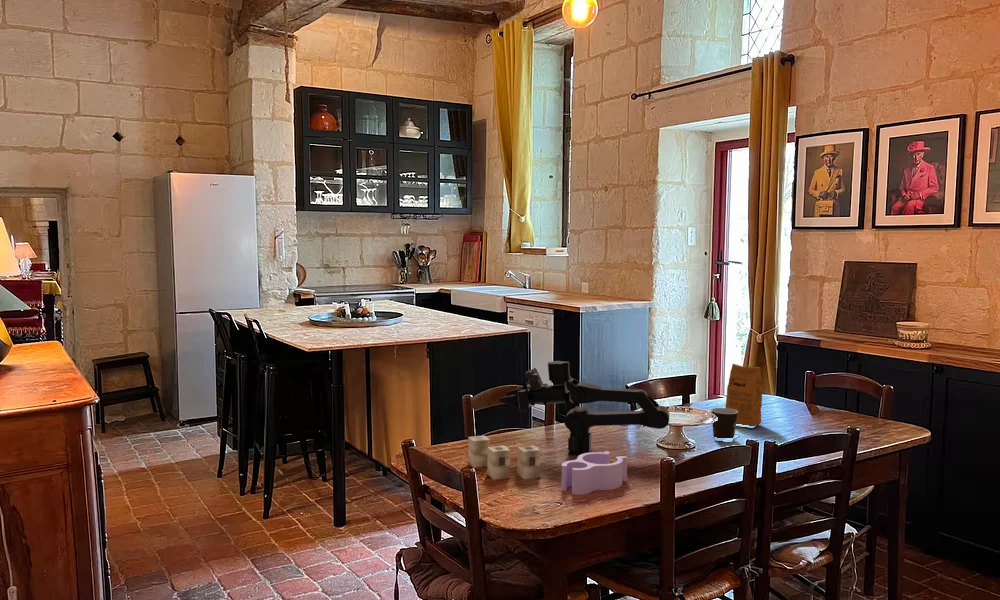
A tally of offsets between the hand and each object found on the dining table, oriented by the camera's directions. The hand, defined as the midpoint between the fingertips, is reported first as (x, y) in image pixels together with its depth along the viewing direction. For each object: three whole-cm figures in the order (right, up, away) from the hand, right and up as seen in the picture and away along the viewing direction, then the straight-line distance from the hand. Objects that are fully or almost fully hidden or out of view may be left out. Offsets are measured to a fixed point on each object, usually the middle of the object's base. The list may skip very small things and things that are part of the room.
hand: (502, 396), depth 239 cm
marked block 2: (+7, -19, -27) cm, 34 cm away
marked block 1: (-1, -19, -27) cm, 33 cm away
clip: (+25, -20, -34) cm, 47 cm away
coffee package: (+87, -14, +31) cm, 94 cm away
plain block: (-7, -18, -17) cm, 26 cm away
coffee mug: (+76, -16, +12) cm, 78 cm away
